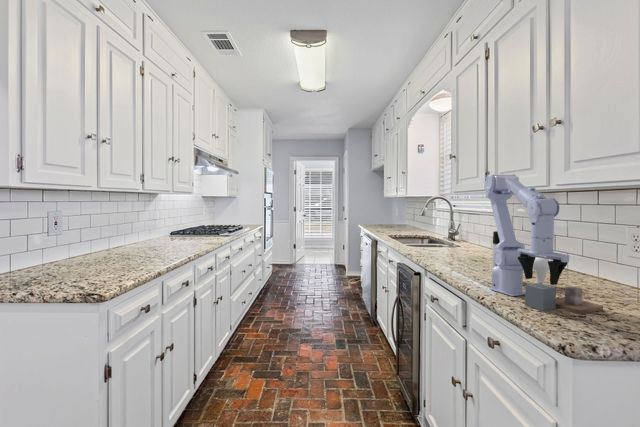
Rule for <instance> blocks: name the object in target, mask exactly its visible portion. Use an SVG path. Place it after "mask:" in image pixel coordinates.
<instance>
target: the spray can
mask: <svg viewBox="0 0 640 427" xmlns="http://www.w3.org/2000/svg"><path fill="white" fill-rule="evenodd" d="M492 233H493V234H492V259H491V260H492V261H491V263H492V265H491V271H492V270H493V268H494V267H495V266H497V265H496V263H495V261H494V247H495V246H496V245H497V244H499V243H500V240H499V236H498V232H497V230H494V231H493V232H492Z"/></svg>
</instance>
